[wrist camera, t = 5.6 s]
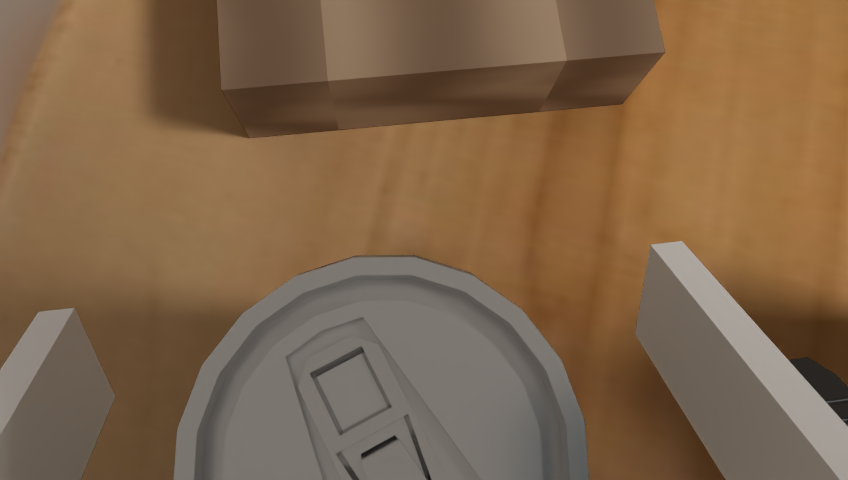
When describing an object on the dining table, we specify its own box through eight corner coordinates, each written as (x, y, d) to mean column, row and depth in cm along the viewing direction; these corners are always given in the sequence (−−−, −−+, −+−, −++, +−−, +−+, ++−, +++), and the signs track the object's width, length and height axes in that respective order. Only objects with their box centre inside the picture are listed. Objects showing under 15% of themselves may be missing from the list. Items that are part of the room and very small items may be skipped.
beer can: (273, 373, 19) (80, 362, 7) (426, 293, 20) (473, 168, 8) (350, 537, 18) (270, 829, 6) (508, 447, 19) (695, 558, 7)
